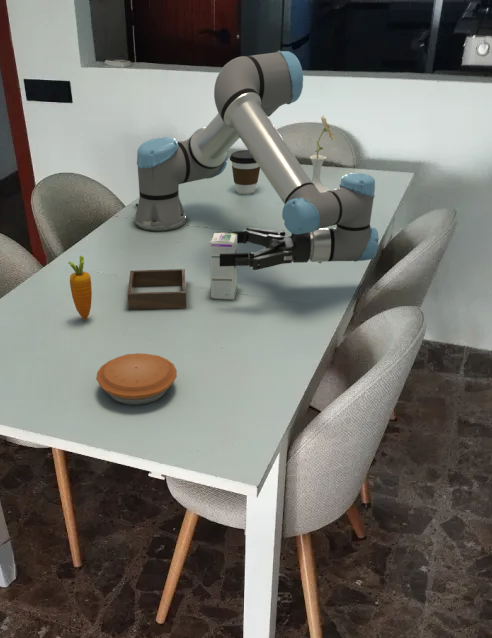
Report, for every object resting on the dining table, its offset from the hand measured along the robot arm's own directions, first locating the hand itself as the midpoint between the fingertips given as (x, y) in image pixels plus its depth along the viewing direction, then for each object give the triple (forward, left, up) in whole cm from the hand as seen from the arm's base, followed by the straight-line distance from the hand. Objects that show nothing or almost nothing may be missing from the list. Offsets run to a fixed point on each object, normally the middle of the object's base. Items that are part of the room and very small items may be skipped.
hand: (217, 248), depth 164 cm
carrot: (-6, -33, -12) cm, 35 cm away
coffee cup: (-60, +51, -12) cm, 80 cm away
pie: (+27, -37, -12) cm, 47 cm away
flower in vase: (-39, +63, -12) cm, 76 cm away
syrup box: (+1, +1, -12) cm, 12 cm away
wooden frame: (-7, -13, -12) cm, 19 cm away
